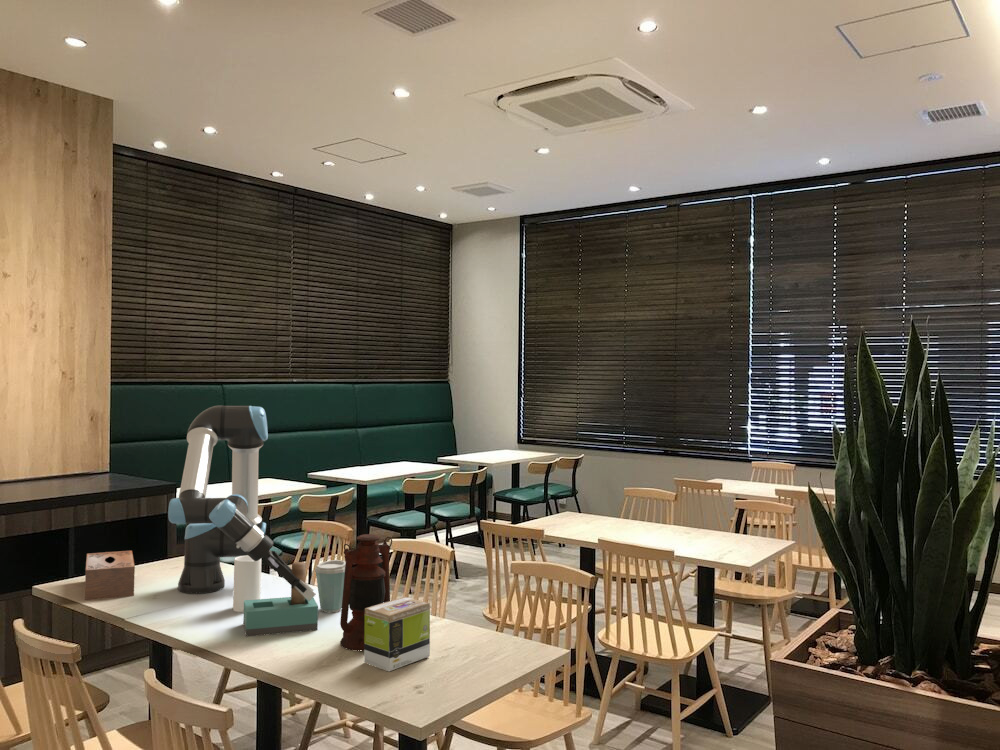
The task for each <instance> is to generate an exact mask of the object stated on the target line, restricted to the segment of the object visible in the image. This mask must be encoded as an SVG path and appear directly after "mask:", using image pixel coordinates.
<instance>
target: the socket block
mask: <svg viewBox="0 0 1000 750" xmlns="http://www.w3.org/2000/svg"><path fill="white" fill-rule="evenodd" d="M318 618H319V605H318V603H317V601H316V600H315V598H314V597H313V598H312V599H311V600H310V601H308V600H307V599H306V598H305V604H300V605H291V596H285V597H273V598H271V597H270V598H260V599H257V600H244V612H243V619H242V622H243V623H242V624H244V625H243V628H244V633H246V634H245V637H246V636H247V637H255V636H256V635H258V636H264V634H265V636H266V634H269V635H276V634H277V633H280V634H289V633H299V632H300V631H301V632H309V630H312V631H318V627H319V626H318V625H319V622H318V621H319V620H318ZM277 635H278V634H277Z"/></svg>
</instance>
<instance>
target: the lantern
mask: <svg viewBox="0 0 1000 750" xmlns="http://www.w3.org/2000/svg"><path fill="white" fill-rule="evenodd" d="M380 539H381V538H380V536H379V535H376V534H372V533H367V534H360V535H358V536H356V540H357V541H359V542H358V543H357V544H356V547H357V548H354V549H352V547H351V546H350V544H349V543H344V545H343V550H344V551H343V554H344V561H345V562H346V564H345V575H344V587H343V598H342V608H341V610H340V611H341V612H340V620H339V625H340V628H341V630H342V631H343V633H342V638H341V639H340V641H339V643H340V646H341V647H342V646H343V647H344V649H345V648H347V649H346V650H349V649H350V650H349V651H353V650H357V651H356V652H364V636H365V608H368V607H371V606H375V605H378V604H381V603H385V602H389V601H391V587H390V586H391V585H390V583H391V582H390V551H391V547H392V544H393V538H392V537H390V536H386V538H384V542H383V543H382V544H379V543H378V542H377V541H379V540H380ZM388 539H390V544H388V543H387V542H386V541H387V540H388ZM346 546H347V548H346ZM380 555H381V556H380ZM381 563H382V564H381ZM379 564H381V565H382V567H381V566H379ZM349 609H350V611H351V615H352V618H351V619H350V620H349V619H348V618H349ZM348 620H349V621H348ZM343 647H342V648H343ZM358 650H359V651H358ZM360 650H362V651H360Z"/></svg>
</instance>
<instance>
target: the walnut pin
mask: <svg viewBox="0 0 1000 750" xmlns="http://www.w3.org/2000/svg"><path fill="white" fill-rule="evenodd" d="M306 565H307V563H306V562H304V561H296V562H293V563H291V569H292V573H293V574H294V575H295V576H296V577H297V578H299V579H300V580H301V581H302V582H304V583H305V582H306V574H307V572H306V570H307V569H306V568H307V566H306ZM291 587H292V586H291V585H290V589H291V591H290V597H291V605H300V604H305V597H304V596H303V595H302V594H301V593H300V592H299V591H298V590H296V589H295V588H293V589H292V588H291Z"/></svg>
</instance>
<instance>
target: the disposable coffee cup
mask: <svg viewBox="0 0 1000 750" xmlns="http://www.w3.org/2000/svg"><path fill="white" fill-rule="evenodd" d="M345 564H346V562H345V560H340V559H332V560H327V561H322V562H320V563H318V564H317V565H316V566H315V568H314V569H315V570H314V572H315V577H316V585H317V590H318V592H317V593H318V599H319V606H320V609H321V612H323V611H324V612H323V613H337V612H340V611H341V609H342V598H343V587H344V575H345Z"/></svg>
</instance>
